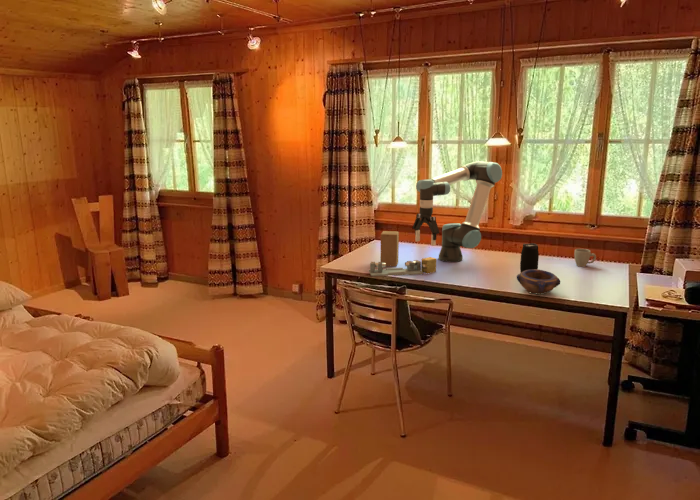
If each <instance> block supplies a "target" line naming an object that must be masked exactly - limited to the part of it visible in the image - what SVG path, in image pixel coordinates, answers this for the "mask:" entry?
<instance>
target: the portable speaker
mask: <svg viewBox="0 0 700 500" xmlns="http://www.w3.org/2000/svg"><path fill="white" fill-rule="evenodd" d="M539 254H540V253H539V245H538V244H537V243H535V242H534V243H533V242H530V243H523V245H522V249H521V253H520V264H519V270H520V272H519V273H521V272H523V271H525V270H532V269H539V256H540V255H539Z"/></svg>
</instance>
